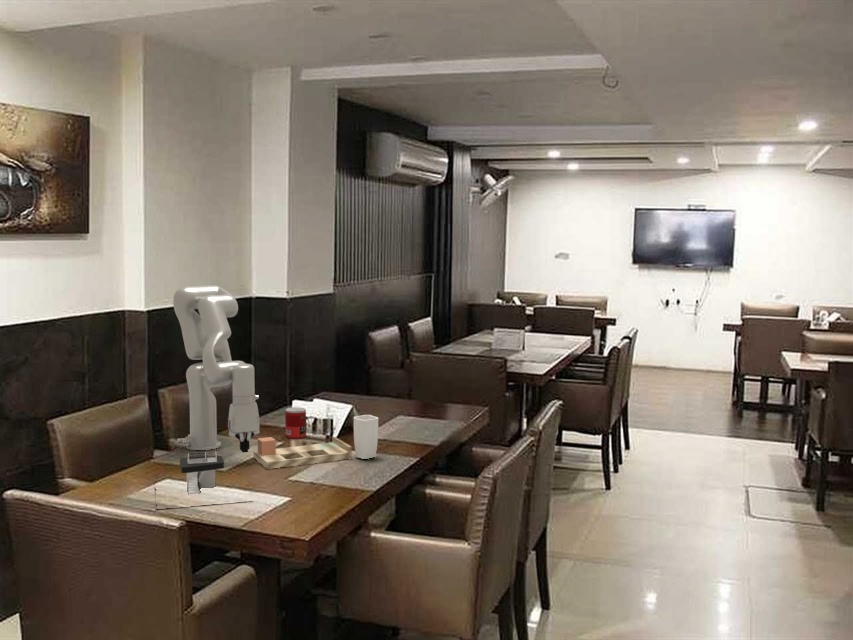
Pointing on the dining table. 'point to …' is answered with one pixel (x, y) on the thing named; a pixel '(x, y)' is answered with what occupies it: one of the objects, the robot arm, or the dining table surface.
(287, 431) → the canned food
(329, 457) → the board
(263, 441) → the block
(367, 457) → the cup
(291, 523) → the dining table surface
